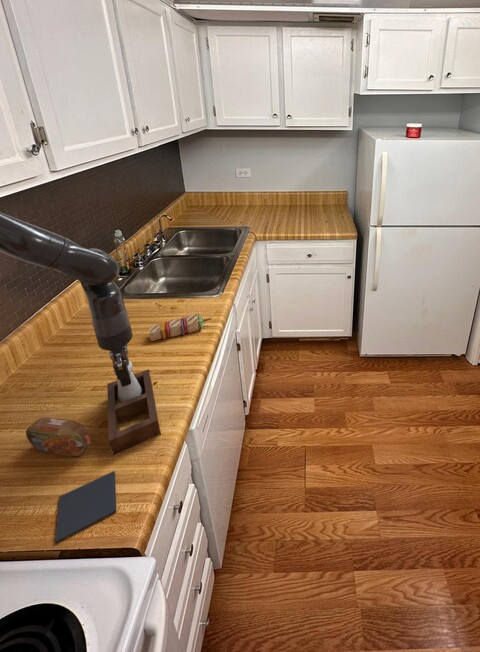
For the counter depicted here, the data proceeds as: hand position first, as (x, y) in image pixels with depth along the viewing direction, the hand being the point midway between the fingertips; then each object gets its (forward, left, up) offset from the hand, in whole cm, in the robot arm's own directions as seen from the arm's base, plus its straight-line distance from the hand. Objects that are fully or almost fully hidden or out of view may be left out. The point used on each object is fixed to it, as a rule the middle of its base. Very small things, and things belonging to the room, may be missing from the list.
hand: (126, 378), depth 88 cm
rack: (0, -4, -9) cm, 10 cm away
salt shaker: (0, 0, -8) cm, 8 cm away
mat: (-10, -23, -9) cm, 27 cm away
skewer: (+18, +25, -9) cm, 32 cm away
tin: (-15, -6, -9) cm, 19 cm away
